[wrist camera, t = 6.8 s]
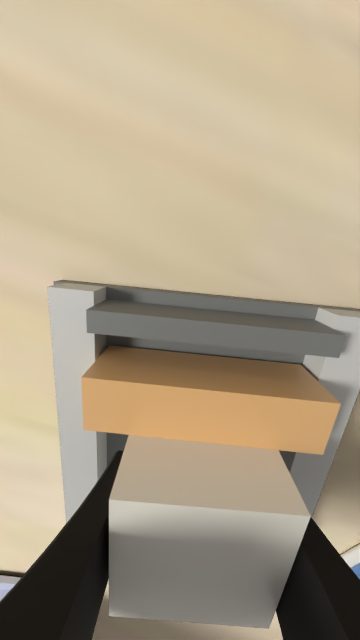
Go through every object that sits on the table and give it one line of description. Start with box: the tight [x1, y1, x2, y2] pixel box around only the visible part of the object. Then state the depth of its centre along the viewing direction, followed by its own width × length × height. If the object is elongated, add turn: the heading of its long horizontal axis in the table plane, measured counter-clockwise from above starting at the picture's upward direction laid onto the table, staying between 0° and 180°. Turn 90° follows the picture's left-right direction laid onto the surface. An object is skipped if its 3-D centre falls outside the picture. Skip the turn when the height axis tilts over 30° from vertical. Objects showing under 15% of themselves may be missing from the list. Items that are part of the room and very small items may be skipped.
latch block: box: [81, 345, 341, 455], centre depth 8 cm, size 2×8×2 cm, turn 85°
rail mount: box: [47, 280, 360, 523], centre depth 10 cm, size 17×13×2 cm
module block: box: [109, 435, 311, 629], centre depth 8 cm, size 5×5×4 cm
